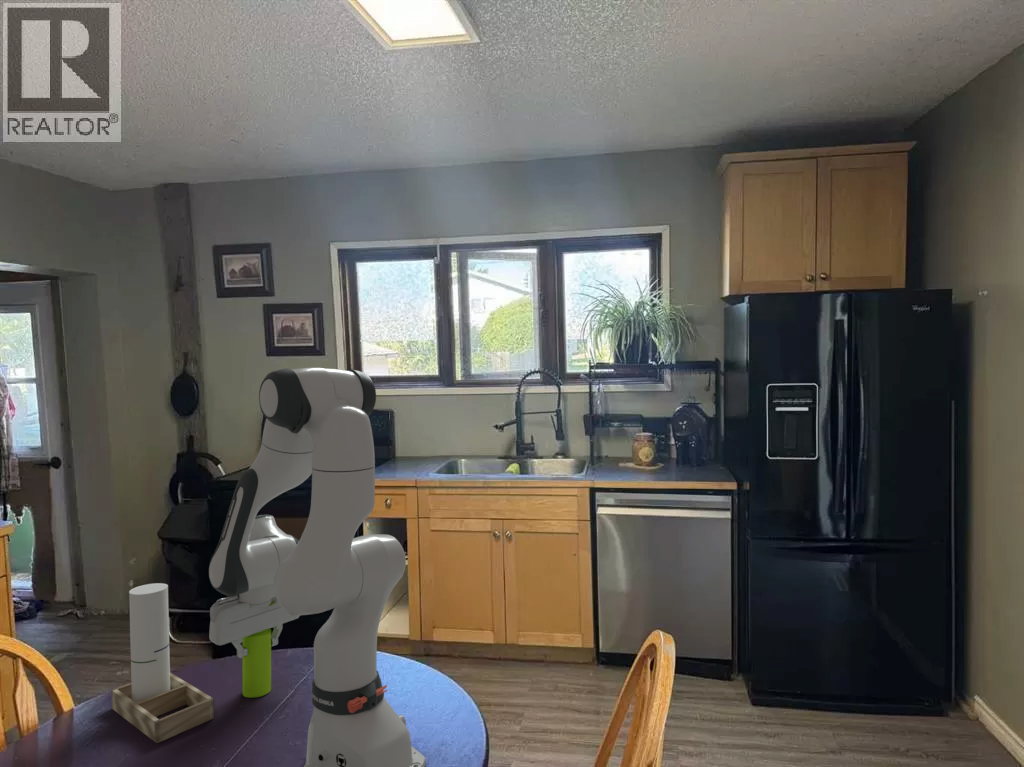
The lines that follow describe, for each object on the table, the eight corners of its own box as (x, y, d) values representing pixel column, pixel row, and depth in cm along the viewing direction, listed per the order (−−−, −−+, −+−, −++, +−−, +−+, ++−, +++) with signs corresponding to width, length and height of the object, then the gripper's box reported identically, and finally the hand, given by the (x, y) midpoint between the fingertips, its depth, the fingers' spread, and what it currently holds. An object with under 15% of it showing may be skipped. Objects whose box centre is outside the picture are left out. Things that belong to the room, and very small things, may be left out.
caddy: (214, 718, 130) (213, 698, 130) (156, 743, 121) (156, 722, 121) (166, 687, 143) (166, 670, 143) (111, 708, 134) (111, 689, 134)
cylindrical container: (177, 703, 136) (174, 586, 136) (142, 718, 130) (139, 596, 130) (160, 694, 140) (157, 581, 140) (125, 708, 134) (122, 590, 134)
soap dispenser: (269, 697, 138) (269, 605, 138) (237, 697, 138) (237, 604, 138) (279, 685, 144) (280, 596, 144) (249, 685, 144) (249, 596, 144)
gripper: (217, 605, 130) (219, 672, 130) (305, 578, 146) (306, 638, 147) (202, 598, 134) (204, 664, 134) (289, 573, 150) (290, 632, 150)
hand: (258, 650), depth 141 cm, fingers closed on soap dispenser, 6 cm apart
